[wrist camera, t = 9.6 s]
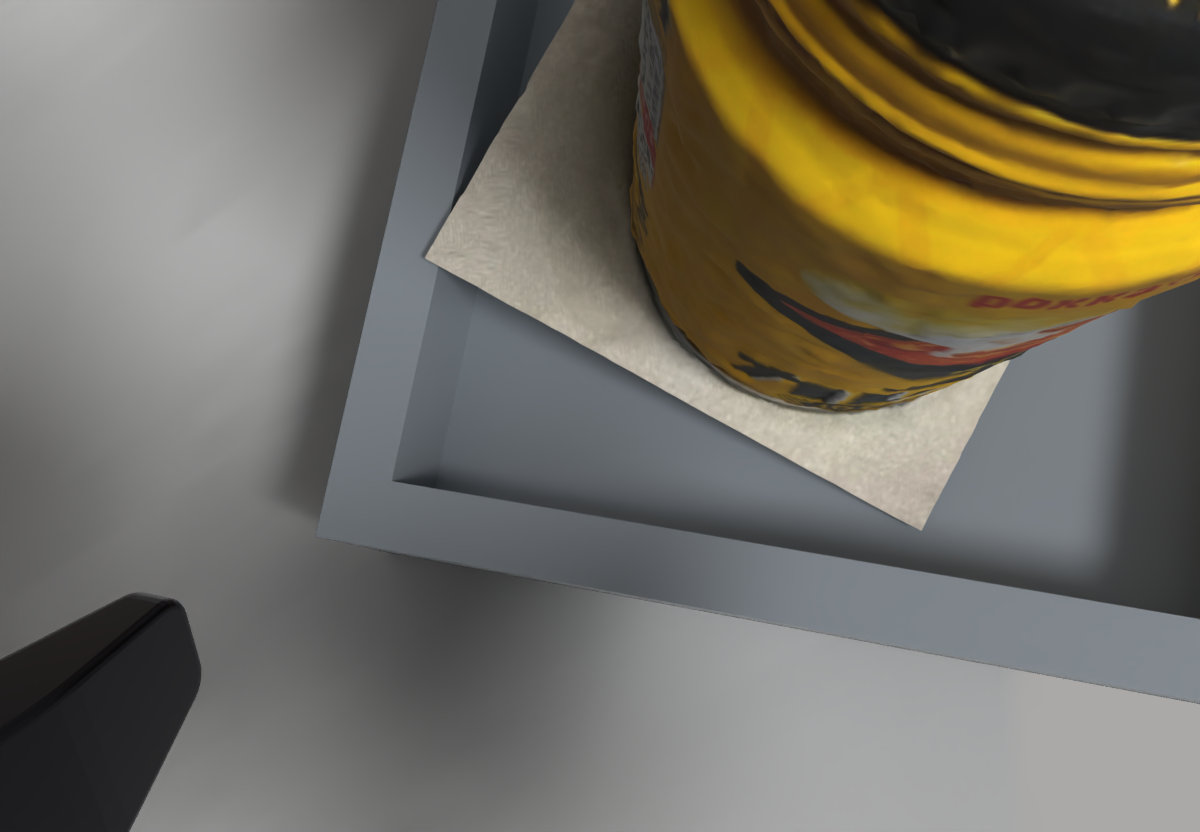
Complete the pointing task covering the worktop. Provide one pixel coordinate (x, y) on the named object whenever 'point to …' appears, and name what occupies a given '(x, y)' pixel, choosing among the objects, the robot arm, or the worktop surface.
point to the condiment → (842, 206)
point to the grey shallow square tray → (760, 452)
